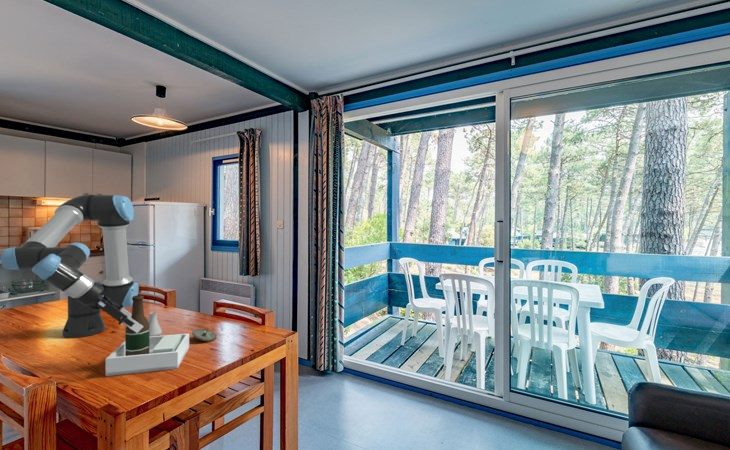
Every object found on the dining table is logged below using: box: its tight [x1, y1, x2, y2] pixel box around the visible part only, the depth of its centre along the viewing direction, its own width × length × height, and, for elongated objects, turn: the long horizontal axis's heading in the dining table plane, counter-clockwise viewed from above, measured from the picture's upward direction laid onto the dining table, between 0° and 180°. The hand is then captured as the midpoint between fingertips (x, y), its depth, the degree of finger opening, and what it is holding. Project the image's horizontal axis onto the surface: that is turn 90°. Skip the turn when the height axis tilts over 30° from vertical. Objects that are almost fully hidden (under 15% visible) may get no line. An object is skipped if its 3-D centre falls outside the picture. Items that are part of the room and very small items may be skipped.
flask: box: [148, 312, 163, 337], centre depth 154 cm, size 7×7×10 cm
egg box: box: [153, 334, 182, 353], centre depth 128 cm, size 14×6×6 cm, turn 17°
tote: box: [105, 333, 190, 377], centre depth 127 cm, size 20×22×6 cm
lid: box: [191, 328, 218, 342], centre depth 149 cm, size 11×10×5 cm
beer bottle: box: [124, 294, 150, 356], centre depth 125 cm, size 8×8×24 cm
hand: (137, 324), depth 125 cm, fingers open, 13 cm apart
